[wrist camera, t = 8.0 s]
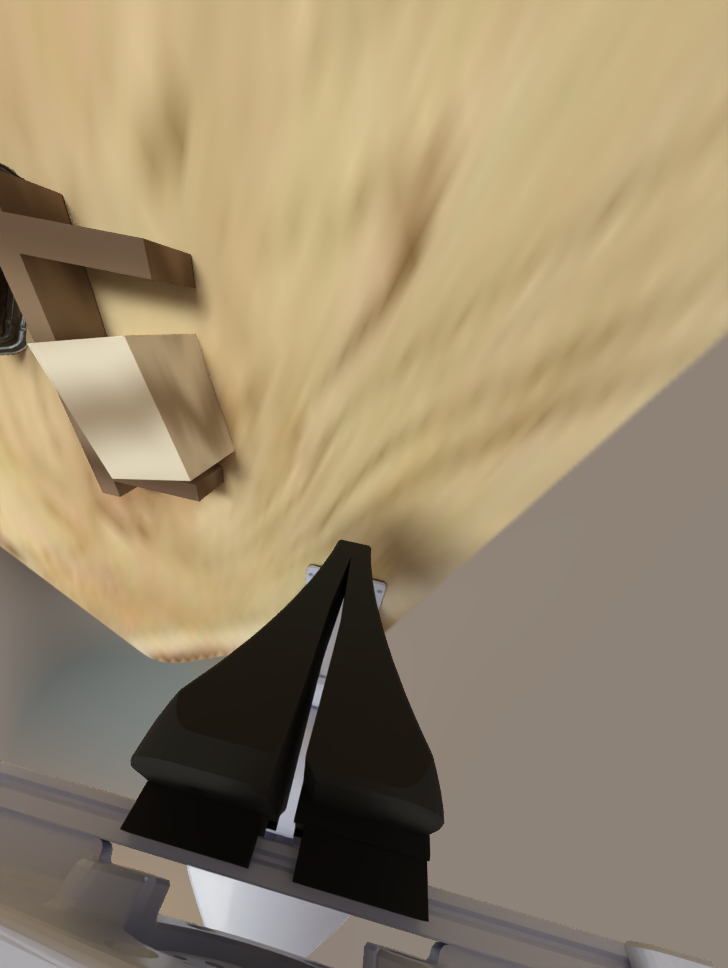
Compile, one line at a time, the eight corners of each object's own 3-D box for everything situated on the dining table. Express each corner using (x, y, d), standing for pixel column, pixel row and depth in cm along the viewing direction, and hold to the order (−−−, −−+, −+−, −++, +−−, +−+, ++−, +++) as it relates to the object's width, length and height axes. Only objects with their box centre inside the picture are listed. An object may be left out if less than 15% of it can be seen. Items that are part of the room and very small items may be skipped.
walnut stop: (225, 495, 23) (202, 516, 21) (136, 474, 23) (102, 492, 21) (185, 217, 14) (132, 191, 11) (35, 189, 14) (-49, 157, 11)
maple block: (235, 449, 21) (190, 480, 16) (170, 449, 22) (112, 478, 17) (197, 333, 17) (124, 335, 12) (119, 339, 18) (26, 343, 13)
